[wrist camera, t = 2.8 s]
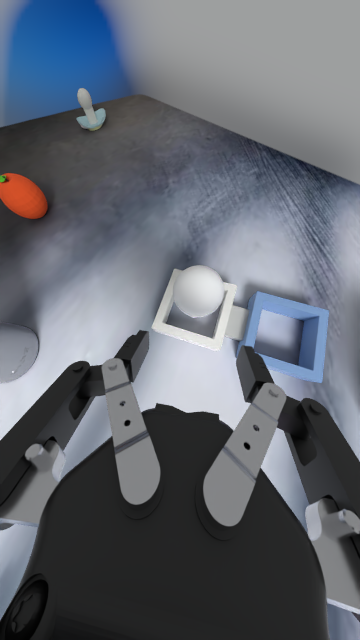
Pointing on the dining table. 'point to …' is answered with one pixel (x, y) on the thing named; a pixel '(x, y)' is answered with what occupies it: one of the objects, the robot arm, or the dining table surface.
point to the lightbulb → (198, 291)
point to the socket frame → (256, 328)
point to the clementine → (22, 196)
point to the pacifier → (89, 112)
